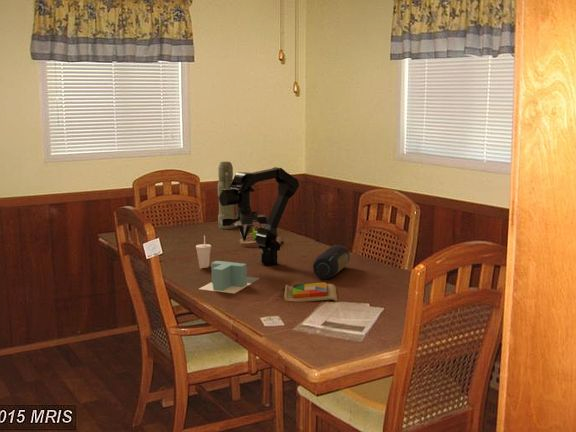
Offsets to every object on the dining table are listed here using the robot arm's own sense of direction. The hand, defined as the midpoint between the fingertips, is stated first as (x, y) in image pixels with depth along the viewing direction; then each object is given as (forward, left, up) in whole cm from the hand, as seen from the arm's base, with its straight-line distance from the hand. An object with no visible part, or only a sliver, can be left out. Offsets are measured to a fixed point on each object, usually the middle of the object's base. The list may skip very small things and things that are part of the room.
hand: (244, 240), depth 297 cm
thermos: (-8, -87, -12) cm, 88 cm away
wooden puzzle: (-16, +42, -13) cm, 47 cm away
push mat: (+10, +22, -12) cm, 27 cm away
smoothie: (+16, -6, -12) cm, 21 cm away
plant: (-17, -46, -13) cm, 50 cm away
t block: (+13, +26, -11) cm, 31 cm away
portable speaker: (-33, +16, -12) cm, 38 cm away
